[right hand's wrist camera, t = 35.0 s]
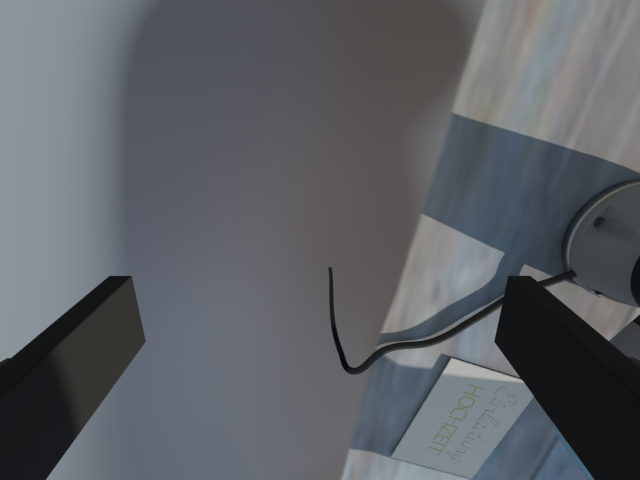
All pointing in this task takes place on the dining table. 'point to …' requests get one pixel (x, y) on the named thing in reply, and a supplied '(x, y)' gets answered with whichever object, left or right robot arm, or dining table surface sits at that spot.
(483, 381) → the invitation card
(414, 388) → the dining table surface
